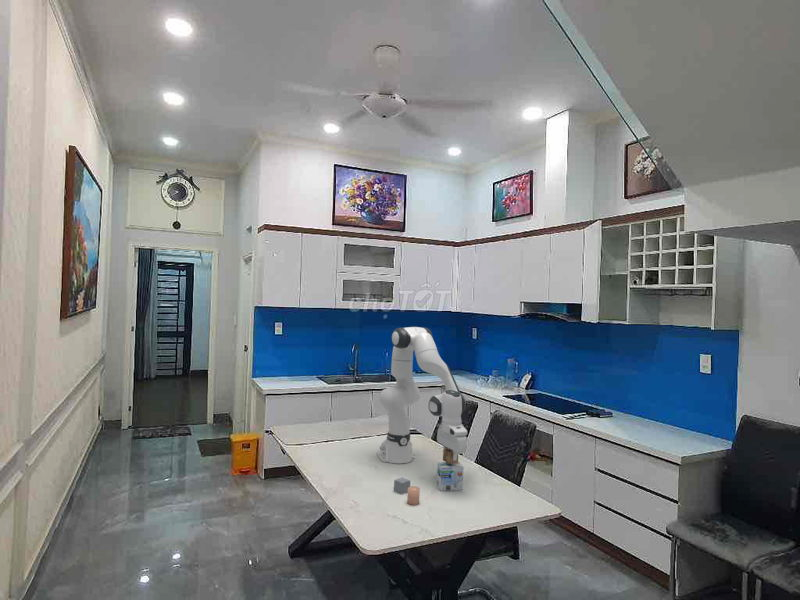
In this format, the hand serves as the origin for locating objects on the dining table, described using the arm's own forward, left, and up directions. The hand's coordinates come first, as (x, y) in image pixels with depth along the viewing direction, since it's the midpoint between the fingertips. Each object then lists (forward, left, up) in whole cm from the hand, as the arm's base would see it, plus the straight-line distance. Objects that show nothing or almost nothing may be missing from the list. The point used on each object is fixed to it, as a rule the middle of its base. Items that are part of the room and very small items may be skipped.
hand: (450, 457), depth 228 cm
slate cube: (-4, -22, -14) cm, 26 cm away
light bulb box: (0, 0, -14) cm, 14 cm away
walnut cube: (0, 0, -2) cm, 2 cm away
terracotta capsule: (+9, -23, -14) cm, 28 cm away
